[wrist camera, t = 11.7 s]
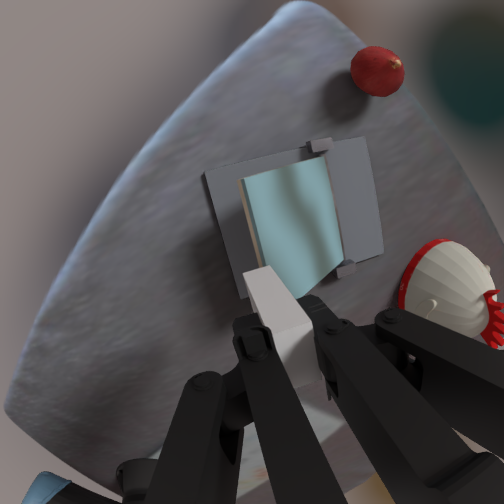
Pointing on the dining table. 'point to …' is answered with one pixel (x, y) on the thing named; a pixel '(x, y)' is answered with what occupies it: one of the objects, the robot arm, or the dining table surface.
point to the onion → (377, 71)
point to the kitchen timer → (453, 291)
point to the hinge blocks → (348, 265)
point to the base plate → (345, 190)
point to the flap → (294, 222)
